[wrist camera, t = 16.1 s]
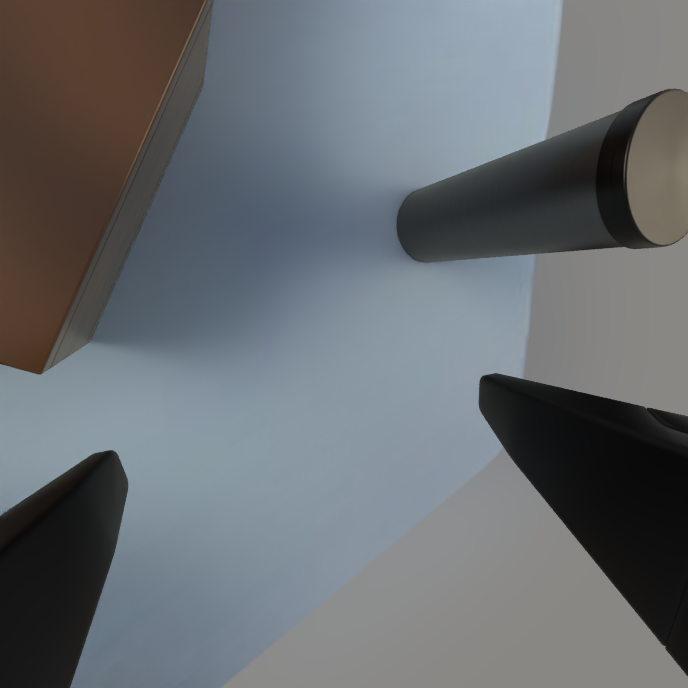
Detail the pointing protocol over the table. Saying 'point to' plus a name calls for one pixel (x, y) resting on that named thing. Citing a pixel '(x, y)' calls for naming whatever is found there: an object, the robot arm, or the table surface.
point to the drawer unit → (84, 154)
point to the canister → (564, 191)
